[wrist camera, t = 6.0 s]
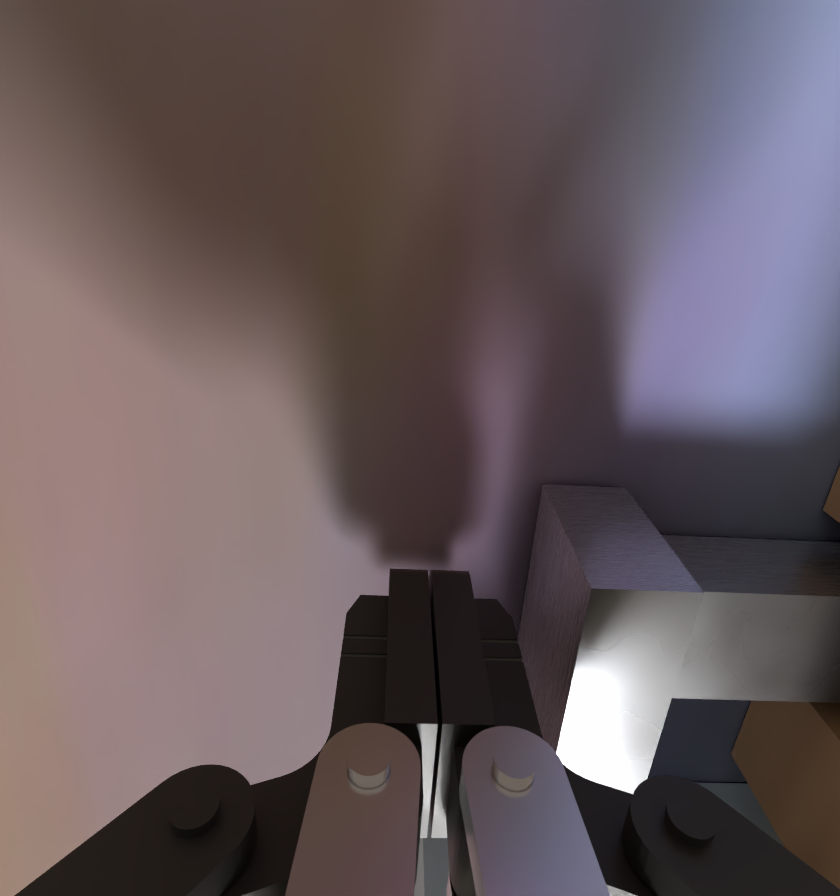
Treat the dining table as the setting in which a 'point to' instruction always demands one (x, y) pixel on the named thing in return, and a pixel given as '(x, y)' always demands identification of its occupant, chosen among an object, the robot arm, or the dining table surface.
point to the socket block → (797, 766)
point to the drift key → (664, 627)
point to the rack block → (435, 850)
